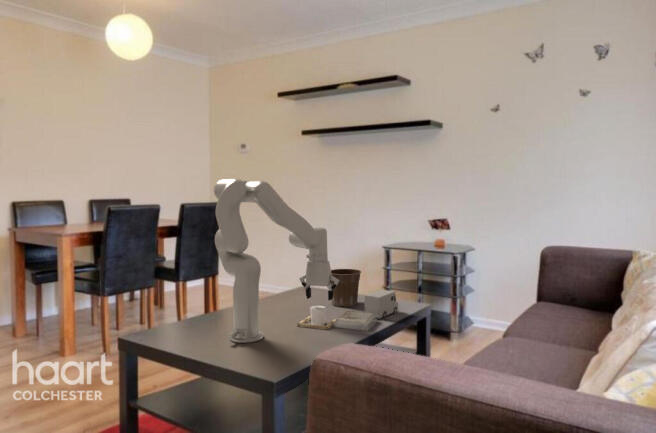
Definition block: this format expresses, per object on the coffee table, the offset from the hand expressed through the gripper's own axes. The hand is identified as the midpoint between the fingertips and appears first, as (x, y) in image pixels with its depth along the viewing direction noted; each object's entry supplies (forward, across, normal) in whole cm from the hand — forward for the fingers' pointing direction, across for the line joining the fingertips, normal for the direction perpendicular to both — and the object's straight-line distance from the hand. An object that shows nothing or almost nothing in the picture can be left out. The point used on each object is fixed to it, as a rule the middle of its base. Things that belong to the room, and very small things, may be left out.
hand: (319, 298), depth 200 cm
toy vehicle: (+12, +20, +22) cm, 32 cm away
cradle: (+10, -1, -1) cm, 10 cm away
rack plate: (+11, +14, +4) cm, 18 cm away
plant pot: (+12, -2, +34) cm, 36 cm away
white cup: (+11, -1, -1) cm, 11 cm away
